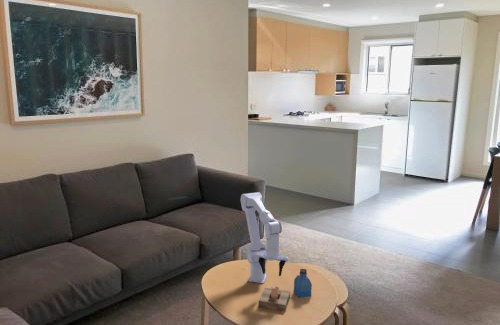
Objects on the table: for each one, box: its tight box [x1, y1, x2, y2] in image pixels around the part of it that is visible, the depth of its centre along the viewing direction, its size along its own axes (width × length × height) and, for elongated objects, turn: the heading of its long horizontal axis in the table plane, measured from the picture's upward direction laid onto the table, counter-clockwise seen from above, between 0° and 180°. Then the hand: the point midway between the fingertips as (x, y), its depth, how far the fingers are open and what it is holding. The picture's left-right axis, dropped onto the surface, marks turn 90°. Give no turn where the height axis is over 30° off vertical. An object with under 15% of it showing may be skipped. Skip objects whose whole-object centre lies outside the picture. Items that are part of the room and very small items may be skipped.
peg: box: [270, 285, 279, 299], centre depth 180 cm, size 3×3×7 cm
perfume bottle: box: [293, 268, 312, 299], centre depth 187 cm, size 6×6×12 cm
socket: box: [258, 287, 291, 312], centre depth 180 cm, size 12×12×3 cm
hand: (272, 274), depth 186 cm, fingers open, 7 cm apart
